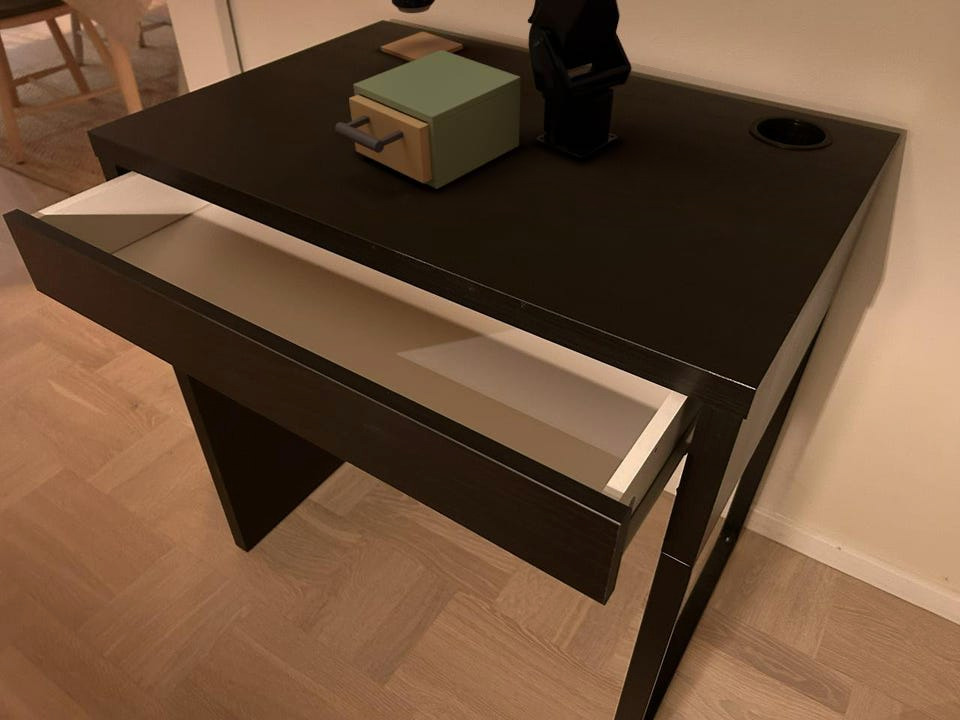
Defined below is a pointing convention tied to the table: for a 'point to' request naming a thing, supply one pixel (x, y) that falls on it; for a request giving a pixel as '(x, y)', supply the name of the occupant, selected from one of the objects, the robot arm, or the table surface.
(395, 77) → the cabinet
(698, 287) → the table surface
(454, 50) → the coaster
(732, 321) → the table surface
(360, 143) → the drawer
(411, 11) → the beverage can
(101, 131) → the table surface
